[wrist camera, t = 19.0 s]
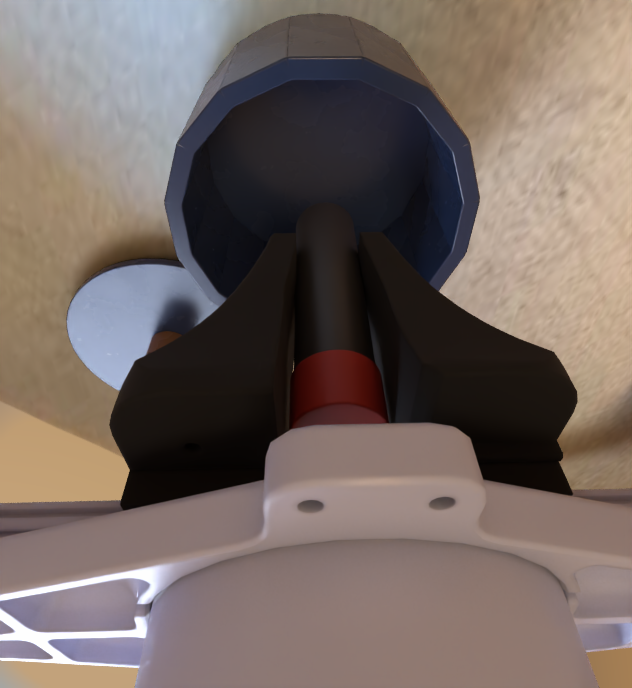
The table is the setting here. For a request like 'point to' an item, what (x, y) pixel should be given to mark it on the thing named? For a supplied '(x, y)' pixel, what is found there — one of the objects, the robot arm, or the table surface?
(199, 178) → the tin
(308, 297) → the marker
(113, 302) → the lid
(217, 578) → the robot arm
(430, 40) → the table surface
